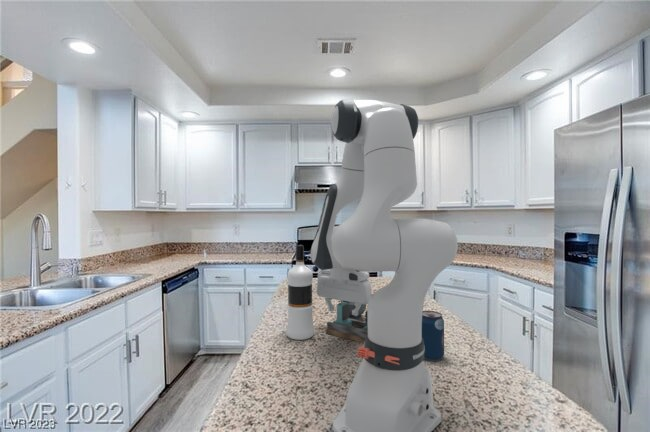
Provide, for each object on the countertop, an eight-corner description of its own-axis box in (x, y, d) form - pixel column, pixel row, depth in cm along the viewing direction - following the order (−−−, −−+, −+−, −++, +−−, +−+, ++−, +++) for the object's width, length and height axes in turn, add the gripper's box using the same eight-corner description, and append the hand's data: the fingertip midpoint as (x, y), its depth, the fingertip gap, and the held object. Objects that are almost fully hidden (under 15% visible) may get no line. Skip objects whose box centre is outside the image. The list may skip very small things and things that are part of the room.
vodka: (291, 343, 97) (290, 246, 97) (283, 332, 105) (282, 244, 105) (318, 338, 100) (318, 245, 100) (308, 328, 109) (307, 243, 109)
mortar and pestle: (368, 322, 115) (368, 290, 115) (343, 323, 113) (343, 291, 113) (361, 313, 126) (361, 283, 126) (338, 314, 124) (338, 284, 124)
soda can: (449, 361, 84) (449, 316, 84) (425, 363, 83) (425, 318, 83) (436, 350, 91) (435, 309, 91) (413, 351, 90) (413, 310, 90)
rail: (386, 336, 102) (386, 307, 102) (375, 346, 94) (374, 314, 94) (340, 325, 112) (339, 299, 112) (326, 333, 104) (325, 305, 104)
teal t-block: (333, 327, 106) (333, 303, 106) (339, 323, 109) (339, 301, 109) (345, 330, 103) (345, 306, 103) (351, 326, 106) (351, 303, 106)
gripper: (312, 270, 109) (312, 310, 109) (365, 277, 97) (365, 321, 97) (322, 268, 114) (323, 306, 114) (373, 273, 103) (374, 315, 103)
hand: (343, 313), depth 106 cm, fingers open, 8 cm apart
